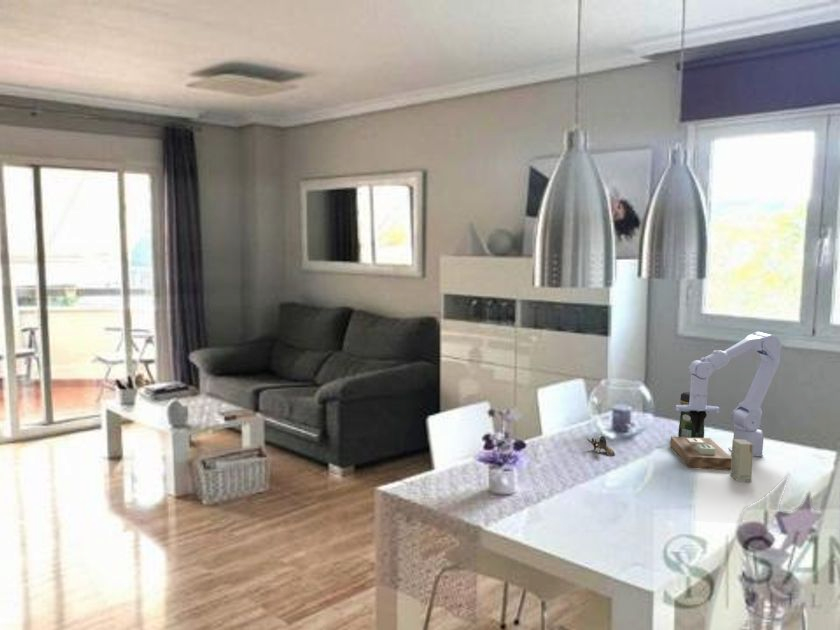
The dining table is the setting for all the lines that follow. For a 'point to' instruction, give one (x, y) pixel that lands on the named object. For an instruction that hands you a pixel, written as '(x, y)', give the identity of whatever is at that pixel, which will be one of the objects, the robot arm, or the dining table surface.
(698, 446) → the sage button
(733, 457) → the skincare box
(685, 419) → the coffee jar
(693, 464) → the board
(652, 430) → the dining table surface
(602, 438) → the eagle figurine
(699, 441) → the cream button
